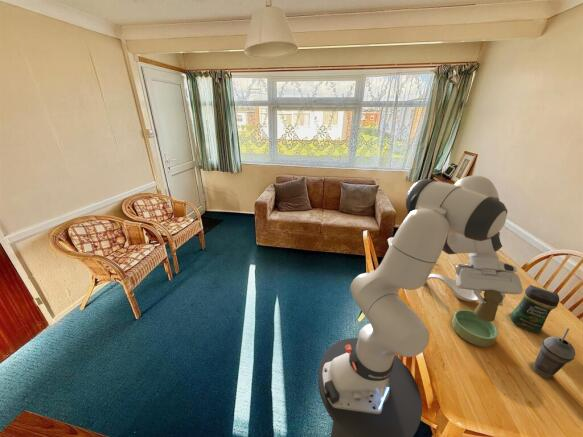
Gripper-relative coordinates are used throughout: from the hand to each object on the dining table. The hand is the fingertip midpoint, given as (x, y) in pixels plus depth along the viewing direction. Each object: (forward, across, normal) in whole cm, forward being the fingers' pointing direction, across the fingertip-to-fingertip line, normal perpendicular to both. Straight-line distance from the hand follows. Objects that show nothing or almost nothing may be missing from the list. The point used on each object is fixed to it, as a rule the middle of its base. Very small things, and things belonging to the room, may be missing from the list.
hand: (491, 304), depth 82 cm
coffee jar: (+5, +27, +24) cm, 36 cm away
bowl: (+10, +2, +17) cm, 20 cm away
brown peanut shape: (+4, 0, +5) cm, 6 cm away
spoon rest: (-6, +3, +34) cm, 35 cm away
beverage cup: (+20, +18, +8) cm, 28 cm away
